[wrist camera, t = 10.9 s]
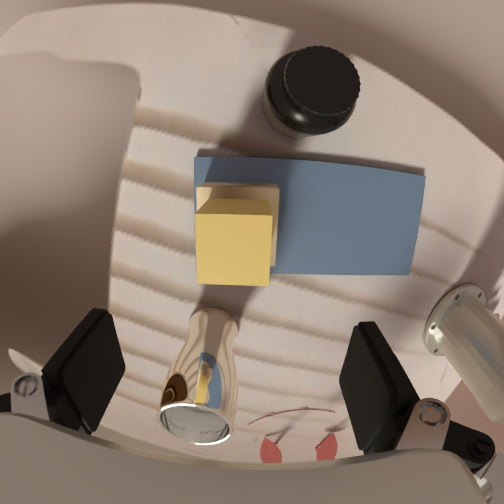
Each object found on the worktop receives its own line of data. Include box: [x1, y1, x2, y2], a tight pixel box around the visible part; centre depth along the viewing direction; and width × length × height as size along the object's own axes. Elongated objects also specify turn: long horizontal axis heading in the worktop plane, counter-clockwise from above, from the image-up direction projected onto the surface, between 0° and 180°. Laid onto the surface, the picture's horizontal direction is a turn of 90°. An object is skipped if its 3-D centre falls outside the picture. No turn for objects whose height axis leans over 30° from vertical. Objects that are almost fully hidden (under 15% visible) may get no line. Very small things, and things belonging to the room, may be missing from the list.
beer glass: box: [156, 307, 238, 445], centre depth 27 cm, size 7×7×15 cm
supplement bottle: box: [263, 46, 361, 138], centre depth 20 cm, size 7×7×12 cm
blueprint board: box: [194, 157, 426, 275], centre depth 29 cm, size 25×12×1 cm, turn 88°
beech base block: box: [196, 182, 280, 266], centre depth 26 cm, size 7×7×4 cm
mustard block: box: [195, 198, 273, 286], centre depth 22 cm, size 5×5×6 cm
